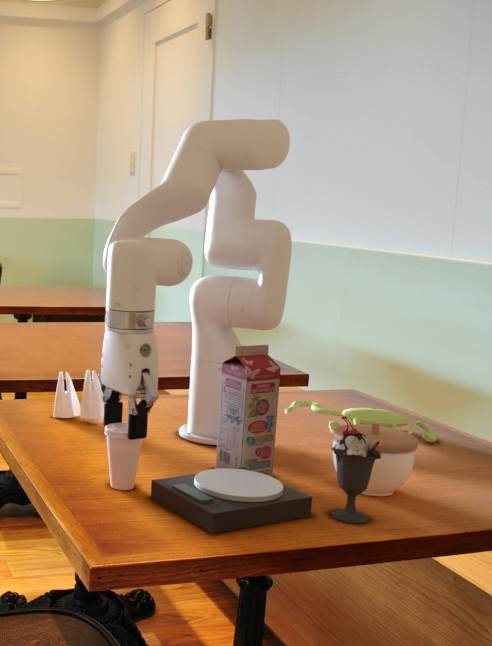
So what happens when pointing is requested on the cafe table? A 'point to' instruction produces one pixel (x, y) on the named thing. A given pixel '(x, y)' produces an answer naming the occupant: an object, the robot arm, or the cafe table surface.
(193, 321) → the robot arm
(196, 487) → the scale
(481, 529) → the cafe table surface
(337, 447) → the sundae
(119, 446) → the smoothie
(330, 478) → the cafe table surface
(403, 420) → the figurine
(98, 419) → the shaker set
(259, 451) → the juice carton
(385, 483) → the lidded bowl
